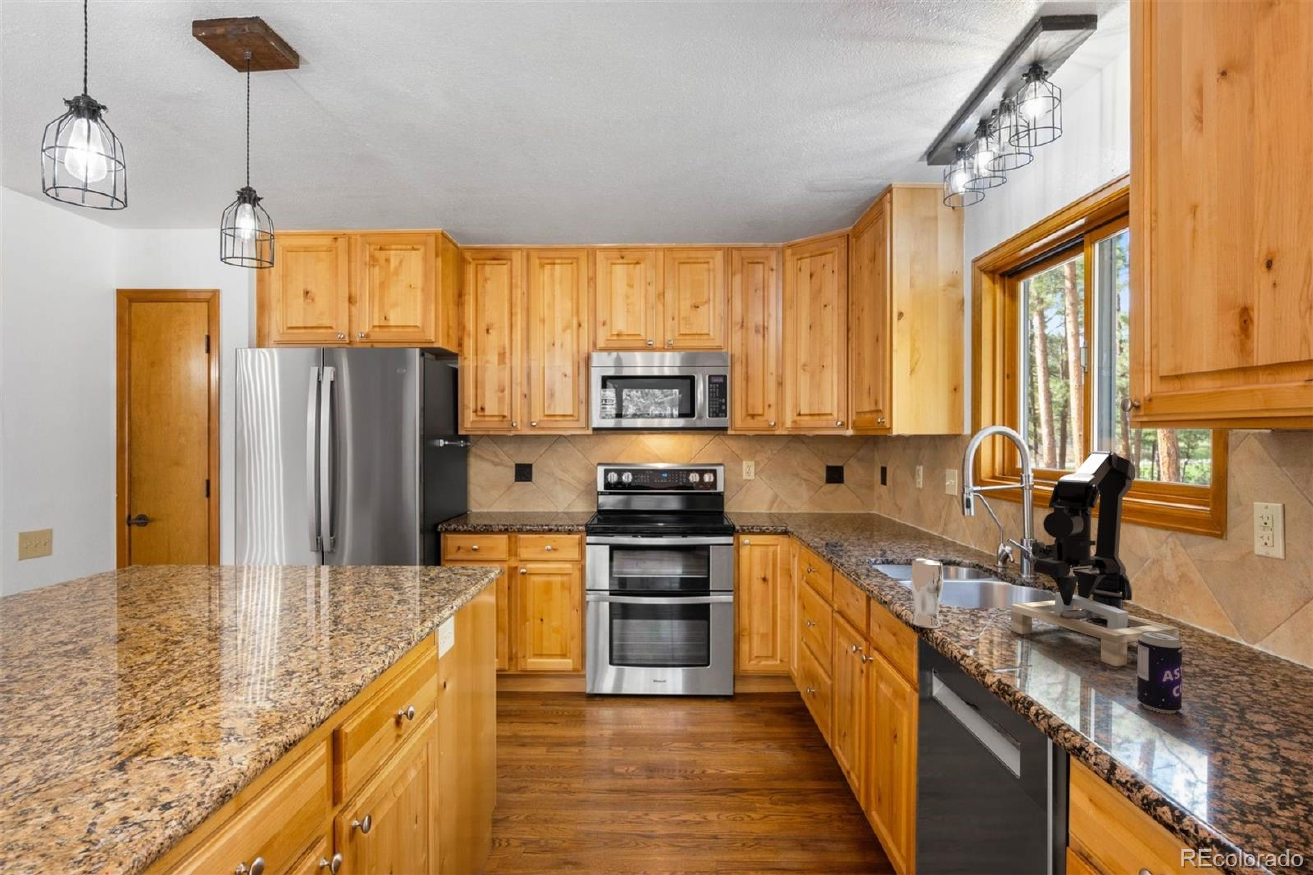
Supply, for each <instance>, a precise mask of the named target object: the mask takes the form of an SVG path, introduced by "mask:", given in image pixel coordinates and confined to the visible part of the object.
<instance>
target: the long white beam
mask: <svg viewBox="0 0 1313 875" xmlns="http://www.w3.org/2000/svg"><path fill="white" fill-rule="evenodd" d="M1054 600H1055V609H1054V611H1053V613H1055V614H1059V615H1060V613H1061V612H1062V611H1068V610H1073V605H1074V606H1077V607H1080V608H1083V609H1086V610H1089V611H1092V612H1095V613H1098V614H1101V615H1104V616H1107V617H1108V623H1107V624H1106V628H1107V629H1111V630H1115V629H1123V628H1128V625H1127V624H1128V615H1129V611H1126V610H1124V609H1123V610H1120V609H1117V608H1114V607H1111V606H1108V605H1105V604H1102V603H1099V602H1096V601H1093V600H1091V599H1089V598H1088V599H1087V598H1083V597H1080V596H1078V594H1073V598H1072V601H1071V603H1070V605H1069V606H1067V605H1064V603H1063V600H1062V598H1061V595H1060V592H1059V591H1058V592H1057V591H1056V592H1055V597H1054Z"/></svg>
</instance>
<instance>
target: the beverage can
mask: <svg viewBox="0 0 1313 875" xmlns="http://www.w3.org/2000/svg"><path fill="white" fill-rule="evenodd" d="M1136 688H1137V692H1136V695H1137V696H1136V699H1137V700H1138V701H1139V703H1140V704H1142V706H1143V707H1144V708H1145V709H1148V710H1149V711H1152V710H1153V712H1155V711H1156V713H1159V712H1160V713H1159V714H1165V713H1166V714H1167V715H1171V714H1172V713H1173V714H1175V713H1176V712H1178V711H1180V710H1181V709H1182V705H1183V704H1182V701H1183V700H1182V695H1183V694H1182V693H1183V692H1182V691H1183V646H1182V644H1181V642H1180V638H1178V637H1177V636H1174V635H1171V634H1167V633H1163V632H1156V631H1142V632H1141V636H1140V637H1139V639H1138V641H1137V687H1136Z"/></svg>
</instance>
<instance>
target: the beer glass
mask: <svg viewBox="0 0 1313 875" xmlns="http://www.w3.org/2000/svg"><path fill="white" fill-rule="evenodd" d="M911 561H912V562H911V563H912V564H911V576H910V578H911V579H910V580H911V585H910V586H911V593H912V598H913V604H914V613H913V618H912V624H913V625H914V626H915V627H918V628H924V629H940V628H941V620H940V613H939V612H940V604H941V599H942V594H943V588H944V569H943V562H942V561H939V560H937V559H936V560H935V559H929V558H928V559H927V558H916V559H912V560H911Z"/></svg>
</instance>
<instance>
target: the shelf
mask: <svg viewBox="0 0 1313 875" xmlns="http://www.w3.org/2000/svg"><path fill="white" fill-rule="evenodd" d="M1054 609H1055V599H1054V600H1043V601H1035V602H1034V601H1033V602H1021V603H1013V604H1011V605H1010V631H1011V632H1014V633H1016V634H1021V635H1026V634H1033V618H1034V619H1036V620H1039V621H1043V622H1046V623H1049V624H1051V625H1052V624H1053V625H1056V626H1058V627H1062V628H1066V629H1069V630H1072V631H1075V632H1078V633H1081V634H1085V635H1088V636H1092V637H1095V638H1098V639H1100V662H1102V663H1105V664H1108V665H1112V666H1114V667H1120V666H1127V665H1128V642H1129V643H1130V642H1131V643H1132V642H1136V641H1137V642H1138V639H1139V637H1140V636H1141V632H1142V631H1156V632H1163V633H1167V634H1171V635H1174V636H1177V637H1178V638H1179V637H1180V634H1179V633H1180V627H1176V626H1172V625H1169V624H1165V623H1161V622H1157V621H1153V620H1150V619H1145V618H1142V617H1138V616H1135V615H1131V614H1128V624H1127V628H1123V629H1115V630H1111V629H1107V627H1103V626H1100V625H1096V624H1093V623H1089V622H1085V621H1084V620H1081V619H1077V620H1076V619H1066V618H1062V617H1060V615H1059V614H1055V613H1054ZM1078 609H1083V608H1080V607H1077V606H1074V605H1073V610H1078ZM1099 618H1103V619H1107V620H1108V617H1107V616H1105V617H1099ZM1128 626H1129V627H1128ZM1179 639H1180V638H1179Z"/></svg>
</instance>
